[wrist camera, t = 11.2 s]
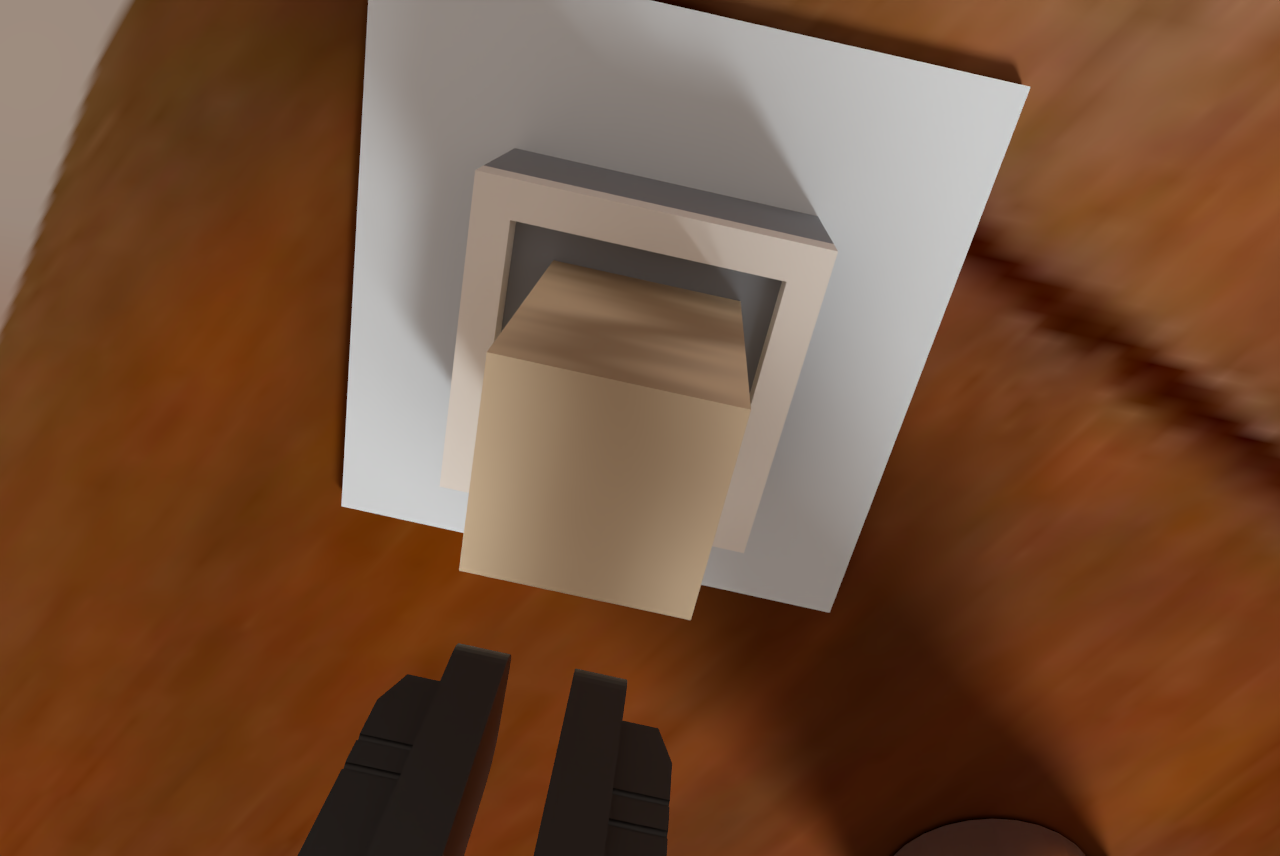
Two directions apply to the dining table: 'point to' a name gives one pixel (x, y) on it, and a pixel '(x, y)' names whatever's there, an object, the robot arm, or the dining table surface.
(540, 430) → the maple block
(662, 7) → the square block holder
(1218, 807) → the dining table surface
